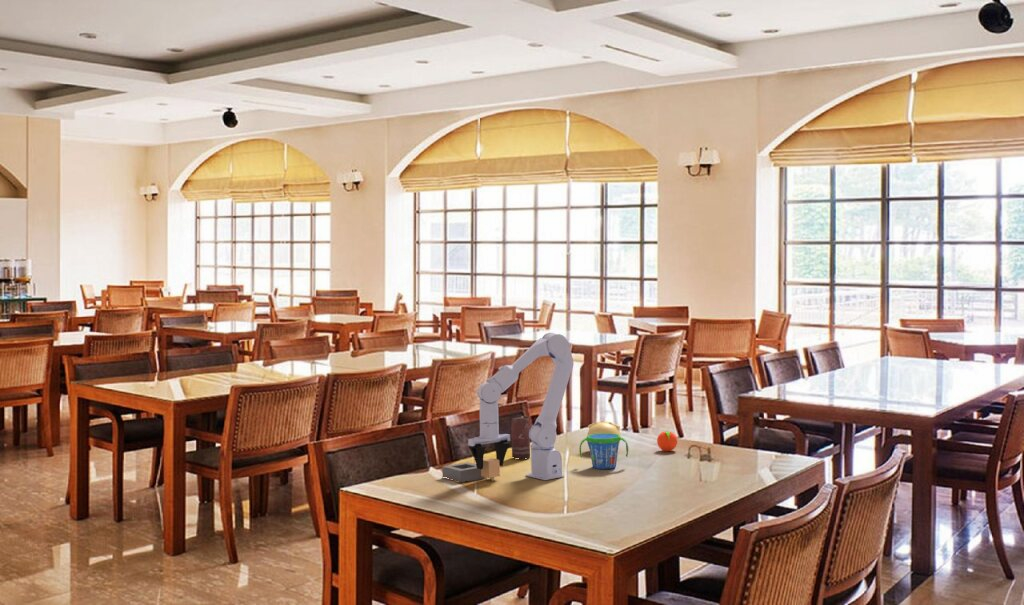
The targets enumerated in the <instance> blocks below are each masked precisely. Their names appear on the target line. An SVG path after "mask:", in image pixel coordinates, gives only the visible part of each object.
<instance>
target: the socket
mask: <svg viewBox="0 0 1024 605" xmlns="http://www.w3.org/2000/svg"><path fill="white" fill-rule="evenodd" d="M441 468H442V469H441V470H442V478H443V477H447V478H449V479H453V480H456V481H459V482H458V483H460V482H462V483H466V482H465V481H468V482H473V481H478V480H484V477H483V476H481V469H477V466H476V463H472V462H469V461H467V462H462V463H461V462H460V463H455V464H449V465H443V466H441ZM456 481H455V482H456Z"/></svg>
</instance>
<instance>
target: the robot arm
mask: <svg viewBox="0 0 1024 605" xmlns="http://www.w3.org/2000/svg"><path fill="white" fill-rule="evenodd" d="M571 346H572V345H571V343H570V342H569V341H568V339H567V337H566V336H565V335H564V334H560V333H554V332H547V333H545V334H544V335H543V336H542V337H540V338H539V339H537V340H536V341H535V342H534V343H532V345H531V346H530V347H529V348H527V349H526V351H525V352H524V353H523V354H521V356H519V357H518V358H517V359H516V360H515V361H514V362H513V363H512V364H510V365H508V364H505V365H504V366H499V367H498V371H497V372H496V373H495V374H493V376H492V377H488V378H487V379H486V380H487V381H486V382H483V383H481V384H480V385H479V387H478V390H477V391H476V394H477V397H478V398H479V436H477V437H476V436H475V437H473V438H468V439H467V440H468V442H467V445H468V449H469V450H470V452H471V454H472V456H473V460H474V461H475V464H476V466H477V469H483V459H484V455H485V450H486V447H485V446H482V445H486V444H488V445H489V444H493V445H494V448H495V454H496V455H495V457H496V458H495V459H498V460H499V467H503V466H504V460H505V457H506V455H507V451H508V449H509V448H510V446H511V443H510V442H511V434H508V433H502V434H500V433H499V432H500V431H499V430H500V427H499V426H500V425H499V399H500V398H501V394H502V393H504V392H505V391H506V390H507V389H509V388H510V386H512V385H513V384H514V383H515V382H516V381H518V380H519V374H520V373H521V371H524V370H525V368H527V367H528V366H529V365H530V364H531V363H533V362H534V361H536V359H538V358H539V357H546V356H549V357H550V358H551V360H552V361H553V362H552V363H554V366H555V367H554V370H553V373H552V376H551V379H550V382H549V385H548V389H547V392H546V394H545V395H546V396H545V398H544V401H543V404H542V407H541V411H540V414H539V415H538V417H537V418H535V422H534V424H533V425H532V426H531V427H530V431H529V437H530V442H532V443H531V444H530V459H531V460H530V466H531V468H530V469H531V472H530V473H526V474H525V476H526V477H530V478H534V479H538V480H543V481H548V480H553V479H557V478H558V479H559V478H564V477H565V474H563V460H562V459H563V458H562V453H560V451H559V450H557V449H556V448H555V443H556V442H557V441H556V440H557V436H556V430H557V428H558V427H557V426H558V425H557V418H558V414H559V412H560V409H561V405H562V402H563V398H564V396H565V393H566V390H567V386H568V383H569V380H570V377H571V375H572V371H573V367H574V360H573V355H572V351H571Z"/></svg>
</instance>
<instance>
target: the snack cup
mask: <svg viewBox="0 0 1024 605" xmlns="http://www.w3.org/2000/svg"><path fill="white" fill-rule="evenodd" d="M585 441H586V442H588V443H587V446H588V445H589V446H588V448H589V452H590V454H589V455H590V460H591V465H592V468H595V469H597V470H607V469H613V468H616V467H617V461H618V452H619V447H618V445H619V446H620V444H619V441H620V442H621V441H623V442H624V443H625V450H626V451H625V452H626V454H625V456H626V458H628V455H629V445H628V441H627V440H626V439H625V438H624V437H622V436H621V434H620V435H618V434H611V433H600V434H592V435H588V436H587V435H586V437H585V438H583V439H582V440H581V442H580V444H579V455H580V457H581V458H583V455H582V445H583V443H584V442H585Z"/></svg>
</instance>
